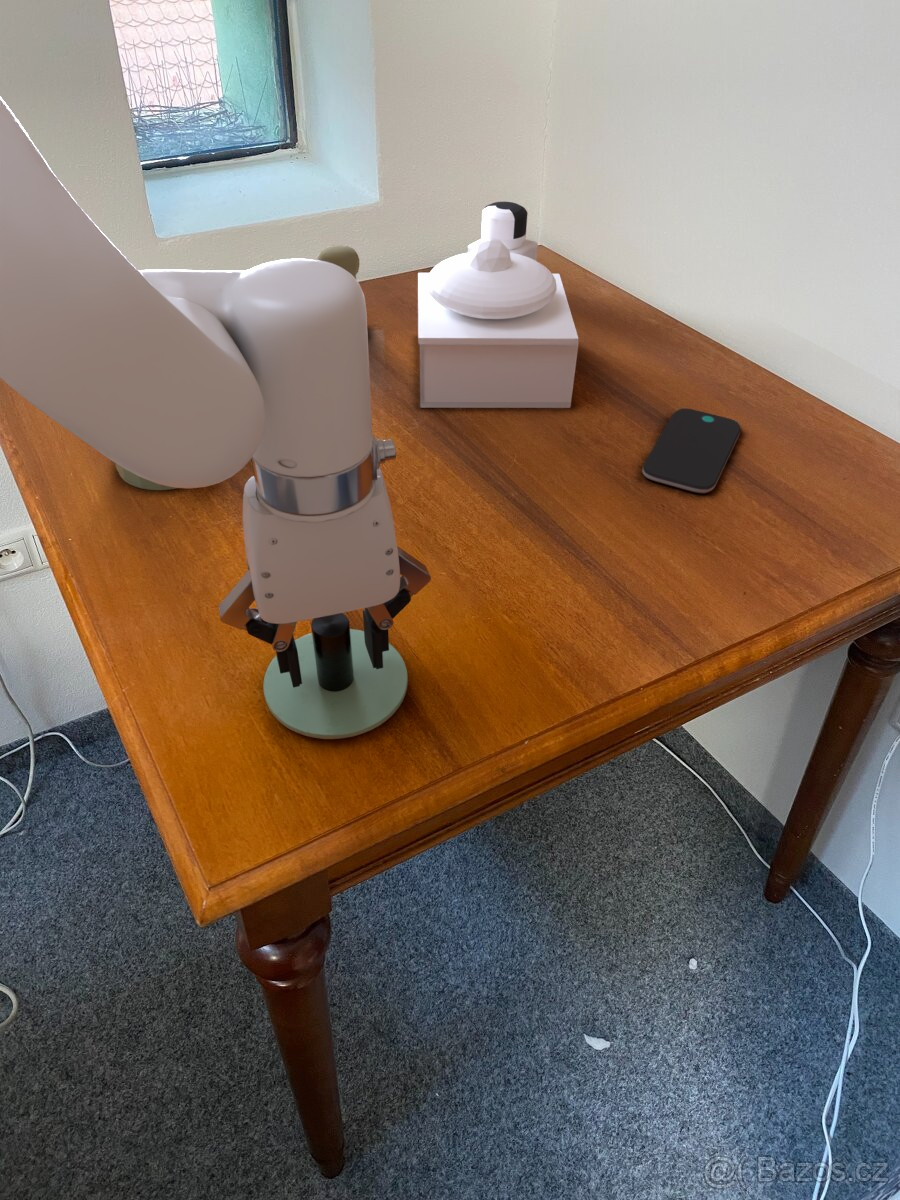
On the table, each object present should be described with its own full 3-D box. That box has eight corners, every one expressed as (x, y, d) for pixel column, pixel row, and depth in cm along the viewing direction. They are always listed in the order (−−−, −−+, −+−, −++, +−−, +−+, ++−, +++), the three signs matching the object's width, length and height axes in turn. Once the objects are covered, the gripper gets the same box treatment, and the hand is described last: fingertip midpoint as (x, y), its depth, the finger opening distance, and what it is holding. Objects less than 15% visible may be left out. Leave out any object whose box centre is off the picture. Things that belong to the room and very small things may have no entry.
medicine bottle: (493, 279, 128) (497, 193, 120) (534, 292, 125) (542, 204, 117) (464, 295, 123) (467, 207, 115) (507, 309, 120) (513, 219, 112)
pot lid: (278, 759, 64) (266, 695, 59) (255, 653, 72) (242, 589, 67) (425, 724, 67) (425, 660, 62) (387, 626, 74) (384, 562, 70)
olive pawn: (374, 328, 115) (371, 244, 108) (351, 347, 111) (346, 261, 104) (334, 319, 117) (328, 235, 110) (311, 337, 113) (302, 252, 106)
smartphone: (744, 421, 98) (712, 491, 88) (742, 428, 98) (710, 498, 89) (677, 404, 100) (638, 470, 90) (676, 411, 101) (637, 477, 91)
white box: (553, 338, 114) (566, 212, 103) (570, 410, 101) (588, 274, 90) (418, 337, 114) (417, 211, 103) (418, 410, 100) (417, 273, 90)
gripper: (427, 418, 60) (427, 610, 72) (169, 457, 56) (215, 654, 68) (462, 479, 54) (455, 675, 67) (179, 527, 50) (227, 727, 63)
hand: (334, 663), depth 67 cm, fingers open, 5 cm apart
